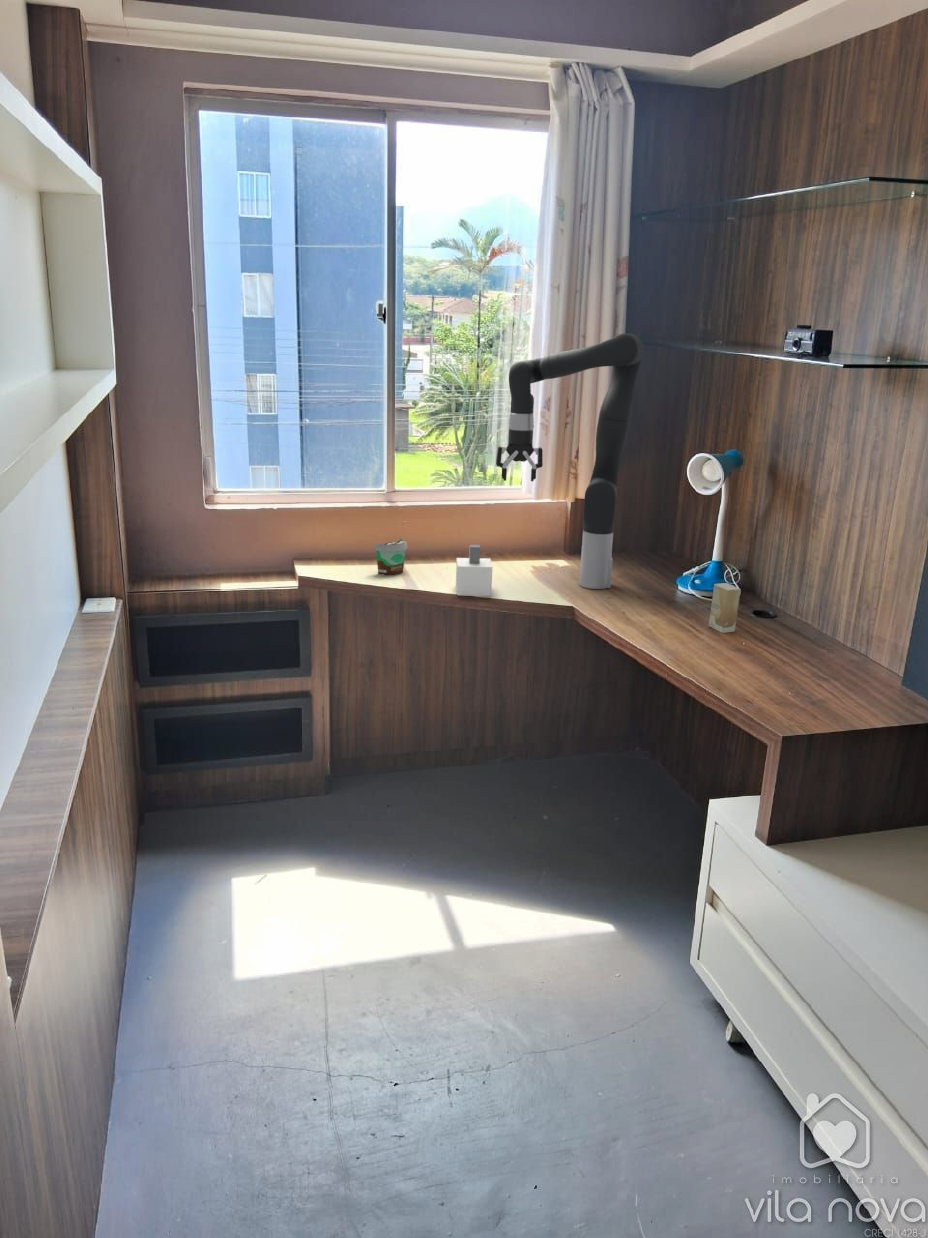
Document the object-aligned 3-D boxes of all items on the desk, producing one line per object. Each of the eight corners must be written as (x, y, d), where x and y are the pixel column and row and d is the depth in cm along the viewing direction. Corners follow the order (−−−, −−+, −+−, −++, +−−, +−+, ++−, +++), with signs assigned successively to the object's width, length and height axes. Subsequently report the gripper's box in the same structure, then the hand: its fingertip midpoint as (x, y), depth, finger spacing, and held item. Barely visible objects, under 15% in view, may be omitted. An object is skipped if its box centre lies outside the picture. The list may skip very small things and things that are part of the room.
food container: (389, 578, 294) (389, 547, 291) (374, 574, 298) (375, 543, 295) (415, 571, 304) (415, 540, 301) (400, 567, 307) (400, 537, 304)
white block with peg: (489, 586, 289) (490, 542, 285) (491, 596, 280) (493, 550, 275) (455, 585, 289) (457, 541, 285) (456, 595, 279) (458, 549, 275)
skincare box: (707, 626, 258) (712, 583, 255) (720, 625, 260) (726, 582, 256) (722, 633, 253) (728, 589, 249) (735, 632, 254) (741, 588, 251)
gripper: (542, 427, 294) (539, 479, 299) (497, 425, 294) (494, 478, 299) (545, 430, 287) (542, 483, 292) (498, 428, 286) (496, 482, 291)
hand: (518, 480), depth 295 cm, fingers open, 8 cm apart
